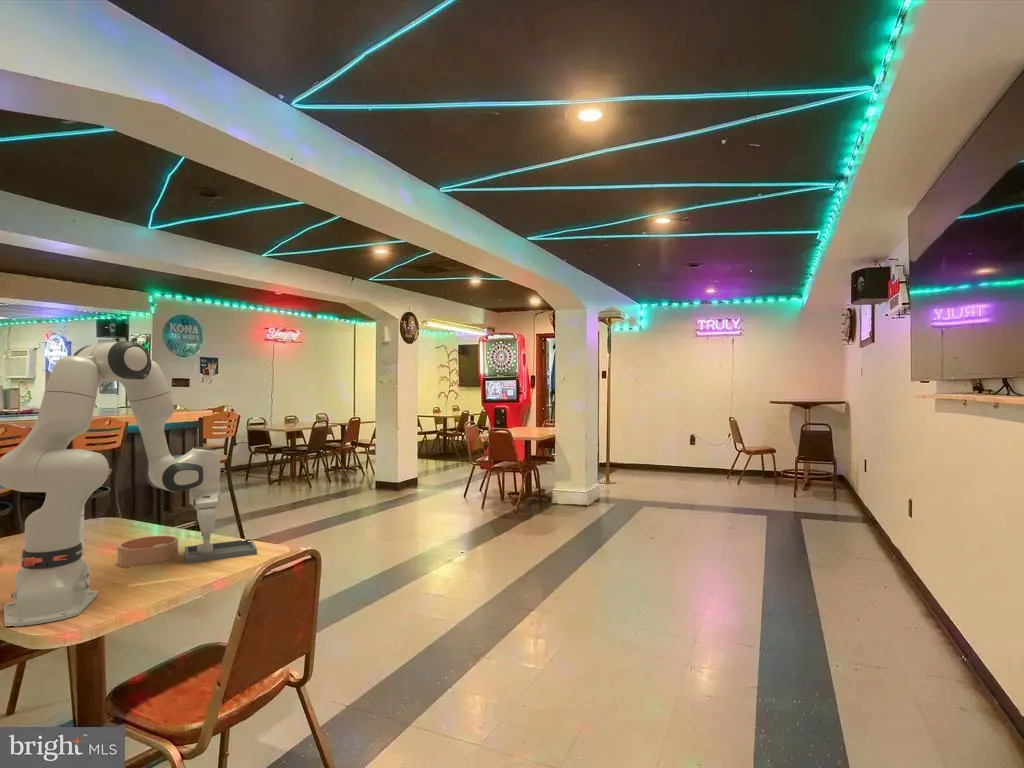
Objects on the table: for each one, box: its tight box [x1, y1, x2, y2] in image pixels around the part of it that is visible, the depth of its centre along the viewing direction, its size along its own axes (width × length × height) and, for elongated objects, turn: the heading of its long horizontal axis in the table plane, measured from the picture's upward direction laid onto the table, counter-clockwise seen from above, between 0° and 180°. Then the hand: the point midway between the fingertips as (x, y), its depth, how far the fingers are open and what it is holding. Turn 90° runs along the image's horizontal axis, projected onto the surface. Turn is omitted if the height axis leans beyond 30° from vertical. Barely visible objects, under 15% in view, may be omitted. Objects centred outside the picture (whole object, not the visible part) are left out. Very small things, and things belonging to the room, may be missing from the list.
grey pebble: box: [197, 542, 213, 556], centre depth 186 cm, size 4×4×3 cm
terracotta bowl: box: [117, 535, 179, 568], centre depth 183 cm, size 16×16×6 cm
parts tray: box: [184, 538, 258, 565], centre depth 188 cm, size 14×20×2 cm
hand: (205, 539), depth 187 cm, fingers open, 8 cm apart
